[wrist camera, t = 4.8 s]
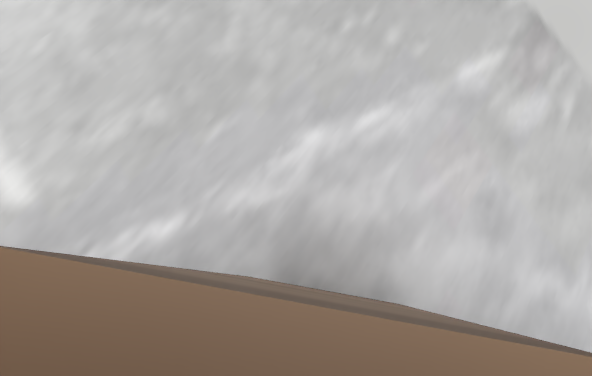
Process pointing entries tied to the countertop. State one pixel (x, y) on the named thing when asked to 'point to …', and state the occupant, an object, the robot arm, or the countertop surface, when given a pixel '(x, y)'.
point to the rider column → (235, 327)
